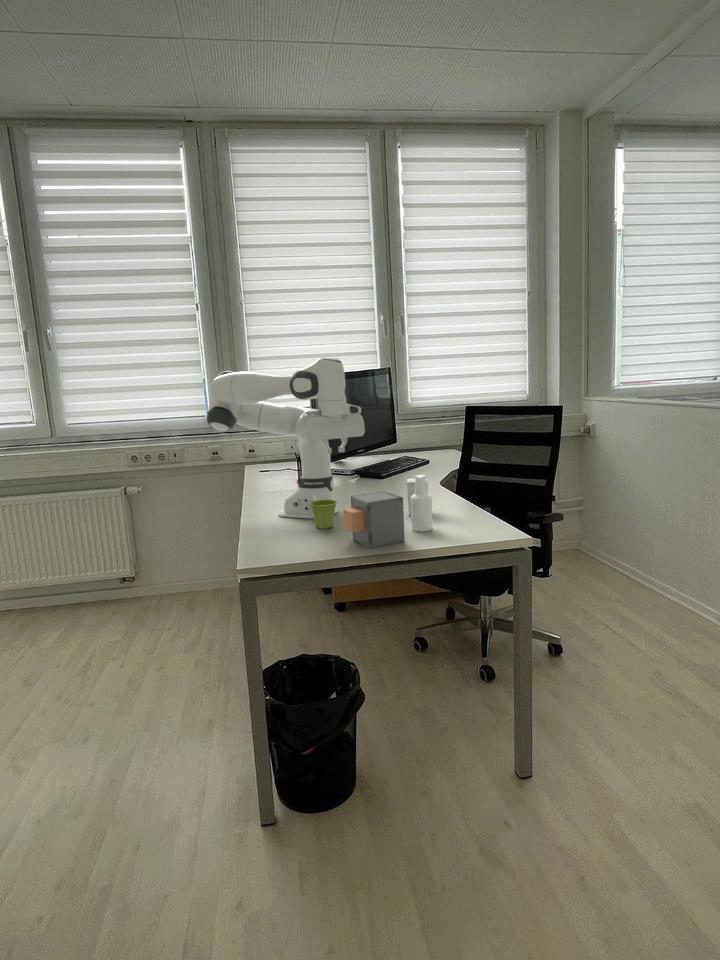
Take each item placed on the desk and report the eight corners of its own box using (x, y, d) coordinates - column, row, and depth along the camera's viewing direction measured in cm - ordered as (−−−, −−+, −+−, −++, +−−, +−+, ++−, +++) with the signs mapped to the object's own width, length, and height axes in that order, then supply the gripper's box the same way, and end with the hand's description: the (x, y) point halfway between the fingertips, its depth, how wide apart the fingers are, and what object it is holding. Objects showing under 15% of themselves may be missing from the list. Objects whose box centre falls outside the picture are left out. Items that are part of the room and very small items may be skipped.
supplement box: (428, 510, 222) (427, 477, 219) (428, 515, 214) (427, 481, 212) (408, 511, 222) (407, 478, 220) (408, 516, 215) (406, 481, 213)
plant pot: (340, 523, 210) (339, 499, 208) (335, 530, 201) (333, 505, 199) (315, 523, 211) (313, 499, 210) (308, 530, 202) (306, 505, 201)
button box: (369, 548, 178) (367, 502, 175) (353, 539, 189) (350, 496, 186) (404, 542, 183) (402, 497, 180) (386, 533, 193) (384, 491, 191)
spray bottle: (433, 526, 199) (431, 473, 196) (431, 532, 192) (429, 477, 189) (413, 526, 200) (411, 474, 197) (410, 531, 194) (408, 477, 191)
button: (352, 532, 178) (351, 512, 177) (344, 528, 183) (343, 509, 182) (367, 529, 180) (366, 510, 179) (359, 525, 185) (358, 506, 184)
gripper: (305, 412, 180) (308, 457, 183) (365, 407, 189) (367, 450, 191) (298, 411, 186) (301, 455, 188) (357, 406, 194) (359, 448, 197)
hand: (335, 452), depth 190 cm, fingers open, 3 cm apart
